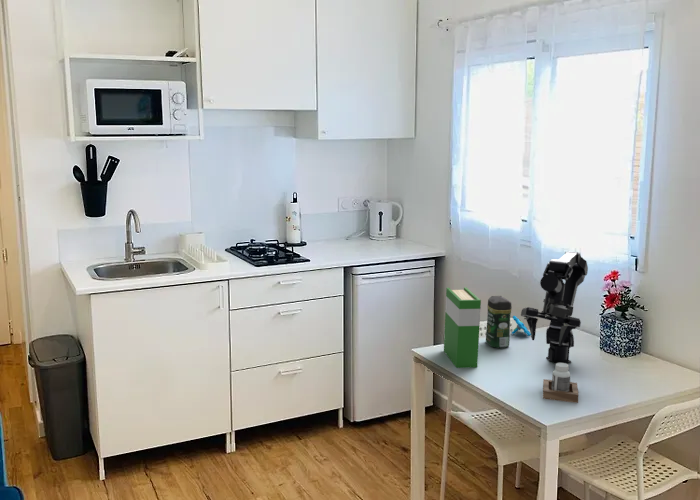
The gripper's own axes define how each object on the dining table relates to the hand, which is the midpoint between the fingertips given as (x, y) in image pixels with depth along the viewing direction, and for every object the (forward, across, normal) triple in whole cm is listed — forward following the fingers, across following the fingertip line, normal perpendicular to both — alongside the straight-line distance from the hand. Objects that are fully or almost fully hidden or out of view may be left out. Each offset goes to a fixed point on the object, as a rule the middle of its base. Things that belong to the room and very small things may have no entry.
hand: (546, 343), depth 239 cm
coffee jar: (+1, -6, +37) cm, 37 cm away
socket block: (+16, +4, -9) cm, 19 cm away
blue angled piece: (-6, +6, +48) cm, 49 cm away
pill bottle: (+16, +4, -9) cm, 19 cm away
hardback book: (+10, -22, +23) cm, 33 cm away
